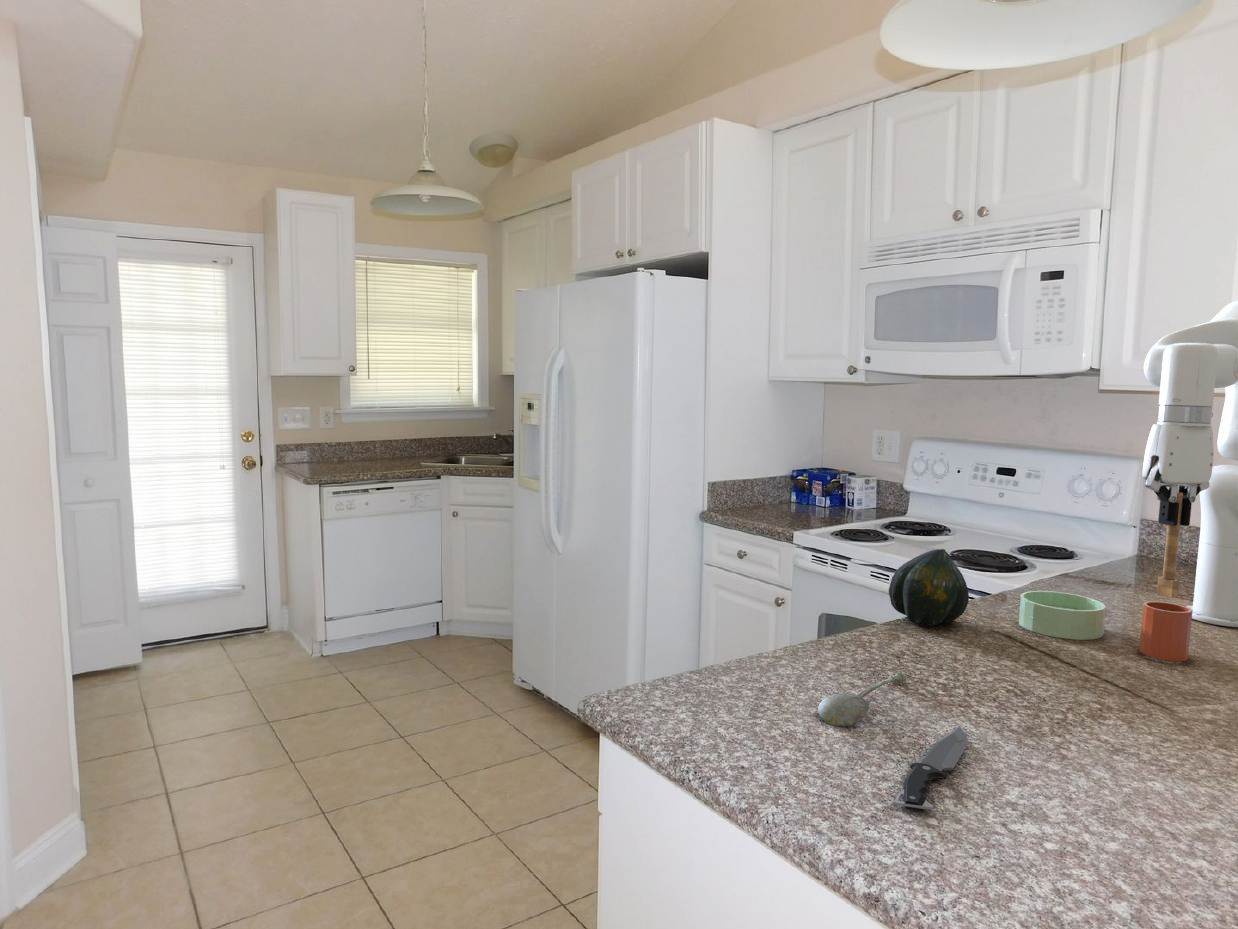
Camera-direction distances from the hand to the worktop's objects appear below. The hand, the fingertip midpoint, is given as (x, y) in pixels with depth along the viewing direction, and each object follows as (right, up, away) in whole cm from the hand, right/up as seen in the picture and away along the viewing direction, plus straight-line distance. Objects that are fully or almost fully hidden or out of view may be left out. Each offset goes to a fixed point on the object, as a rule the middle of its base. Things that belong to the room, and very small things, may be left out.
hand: (1173, 523), depth 138 cm
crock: (0, -23, +2) cm, 24 cm away
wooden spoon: (0, -12, +1) cm, 13 cm away
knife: (-56, -27, -41) cm, 74 cm away
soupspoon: (-59, -25, -21) cm, 67 cm away
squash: (-34, -21, +21) cm, 45 cm away
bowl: (-11, -22, +16) cm, 29 cm away
